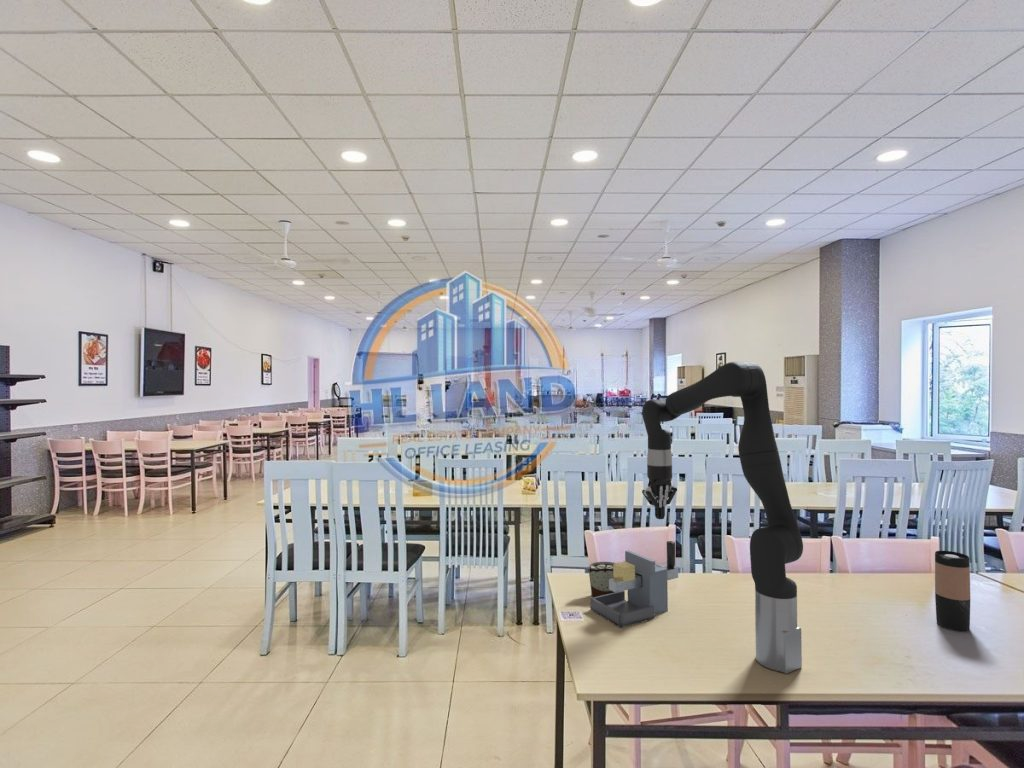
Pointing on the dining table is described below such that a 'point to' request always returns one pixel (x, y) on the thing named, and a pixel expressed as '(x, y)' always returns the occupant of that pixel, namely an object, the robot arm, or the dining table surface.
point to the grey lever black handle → (619, 586)
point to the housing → (648, 583)
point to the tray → (620, 609)
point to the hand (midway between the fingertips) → (660, 518)
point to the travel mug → (952, 590)
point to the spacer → (624, 571)
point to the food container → (600, 578)
